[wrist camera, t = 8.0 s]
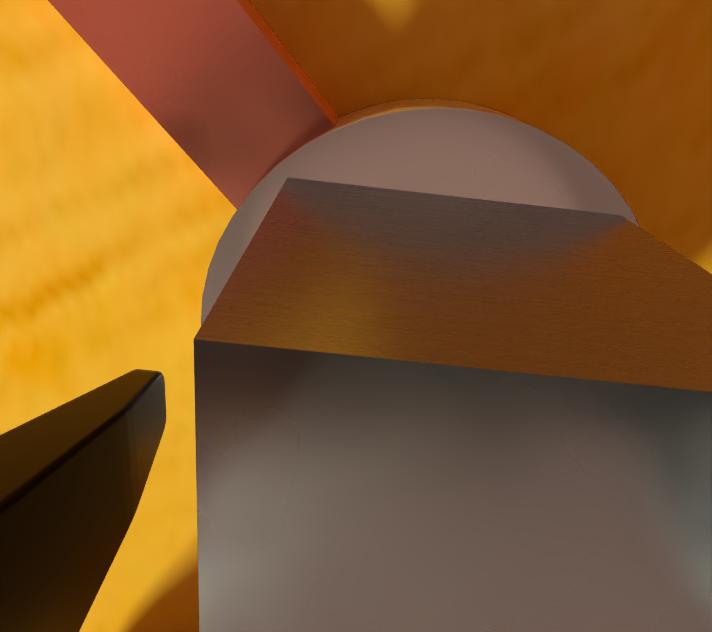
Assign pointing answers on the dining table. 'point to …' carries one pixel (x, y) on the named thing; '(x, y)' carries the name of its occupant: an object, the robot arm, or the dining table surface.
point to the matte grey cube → (453, 422)
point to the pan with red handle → (312, 122)
